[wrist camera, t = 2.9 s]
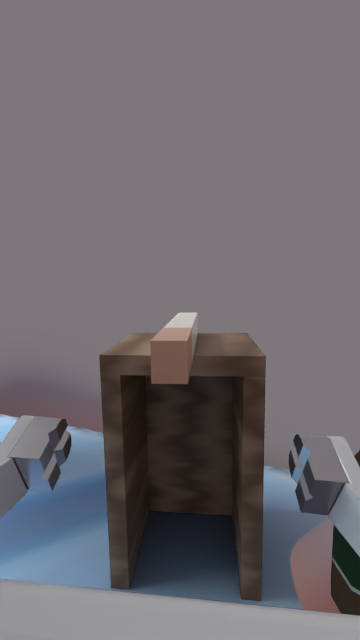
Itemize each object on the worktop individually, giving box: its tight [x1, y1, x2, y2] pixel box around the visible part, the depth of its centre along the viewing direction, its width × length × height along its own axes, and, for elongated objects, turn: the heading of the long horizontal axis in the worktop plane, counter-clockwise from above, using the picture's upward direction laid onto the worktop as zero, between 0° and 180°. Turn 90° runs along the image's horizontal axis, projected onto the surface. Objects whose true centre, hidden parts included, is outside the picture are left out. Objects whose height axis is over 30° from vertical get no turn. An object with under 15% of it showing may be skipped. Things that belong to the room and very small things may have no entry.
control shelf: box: [99, 333, 266, 601], centre depth 35 cm, size 16×13×26 cm
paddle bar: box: [150, 313, 197, 384], centre depth 29 cm, size 2×20×3 cm, turn 175°
